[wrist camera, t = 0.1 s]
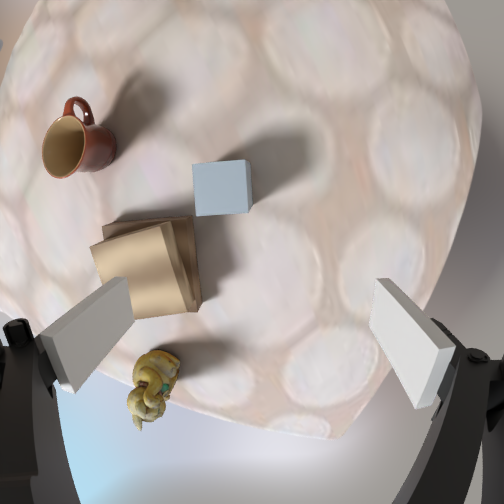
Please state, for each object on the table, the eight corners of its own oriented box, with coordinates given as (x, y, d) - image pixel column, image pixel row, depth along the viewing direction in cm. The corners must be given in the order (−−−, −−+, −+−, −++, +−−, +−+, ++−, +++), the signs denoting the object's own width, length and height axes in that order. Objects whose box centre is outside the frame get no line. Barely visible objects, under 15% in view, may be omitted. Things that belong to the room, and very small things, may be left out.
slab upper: (103, 240, 40) (89, 247, 36) (170, 220, 38) (159, 226, 34) (128, 310, 42) (117, 321, 39) (194, 299, 41) (187, 312, 37)
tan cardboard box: (114, 221, 43) (101, 226, 39) (193, 214, 42) (185, 219, 38) (128, 300, 46) (118, 310, 43) (203, 301, 45) (197, 312, 42)
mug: (123, 172, 40) (85, 174, 30) (81, 178, 41) (42, 182, 31) (124, 100, 37) (89, 86, 27) (82, 110, 37) (45, 101, 28)
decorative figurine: (176, 387, 50) (153, 442, 36) (138, 371, 50) (107, 421, 36) (187, 353, 48) (161, 411, 33) (145, 336, 48) (109, 387, 33)
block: (208, 166, 39) (192, 164, 31) (250, 163, 39) (245, 159, 30) (211, 207, 41) (196, 216, 32) (252, 204, 40) (248, 213, 32)
